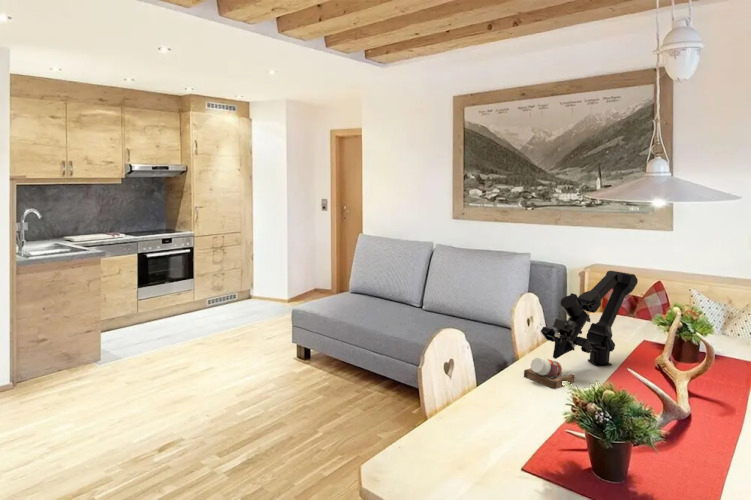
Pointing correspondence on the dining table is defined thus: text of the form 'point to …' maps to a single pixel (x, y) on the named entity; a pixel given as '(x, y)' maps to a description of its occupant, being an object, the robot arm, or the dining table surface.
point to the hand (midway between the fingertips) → (554, 358)
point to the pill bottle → (546, 367)
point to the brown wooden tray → (548, 379)
